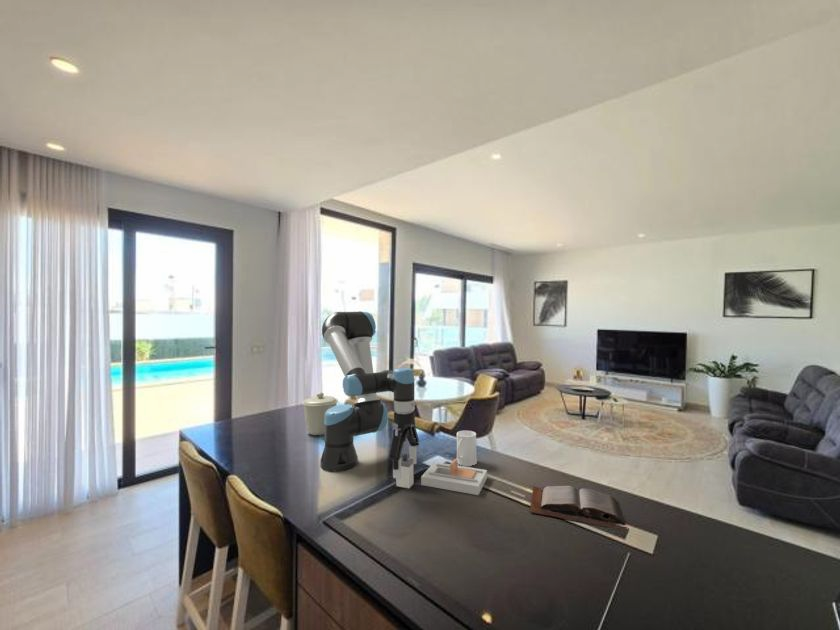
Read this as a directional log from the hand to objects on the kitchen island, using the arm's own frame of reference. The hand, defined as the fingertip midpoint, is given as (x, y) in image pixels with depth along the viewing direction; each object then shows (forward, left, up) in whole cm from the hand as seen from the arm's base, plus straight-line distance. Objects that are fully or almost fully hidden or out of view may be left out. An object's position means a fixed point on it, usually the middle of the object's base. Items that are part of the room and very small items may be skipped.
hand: (405, 470), depth 133 cm
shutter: (+19, +9, -2) cm, 21 cm away
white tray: (+16, +9, -5) cm, 19 cm away
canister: (-66, +38, -6) cm, 76 cm away
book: (+57, +7, -6) cm, 58 cm away
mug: (+15, +26, -6) cm, 31 cm away
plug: (0, 0, -5) cm, 5 cm away
